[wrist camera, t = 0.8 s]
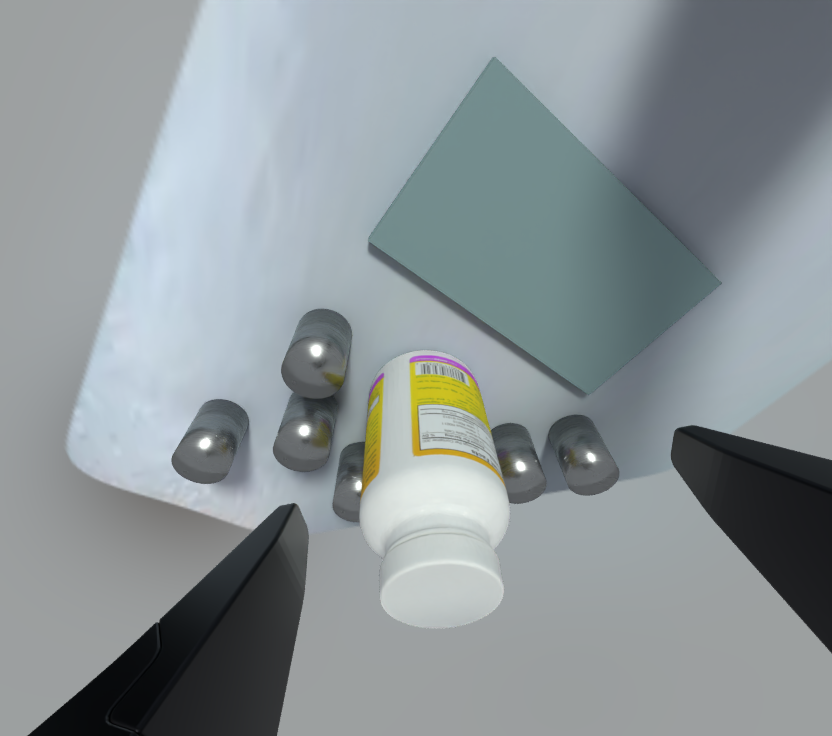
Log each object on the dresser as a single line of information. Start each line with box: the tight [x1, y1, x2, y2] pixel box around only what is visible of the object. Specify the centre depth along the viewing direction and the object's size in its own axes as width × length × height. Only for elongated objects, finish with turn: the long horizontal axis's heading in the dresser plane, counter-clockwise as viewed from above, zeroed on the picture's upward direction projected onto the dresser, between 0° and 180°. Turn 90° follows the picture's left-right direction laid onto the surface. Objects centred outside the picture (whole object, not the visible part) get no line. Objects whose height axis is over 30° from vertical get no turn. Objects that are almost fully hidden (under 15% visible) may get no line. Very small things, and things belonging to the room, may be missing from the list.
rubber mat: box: [368, 57, 722, 395], centre depth 22 cm, size 9×16×1 cm, turn 53°
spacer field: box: [172, 309, 619, 522], centre depth 27 cm, size 15×22×4 cm
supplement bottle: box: [359, 350, 510, 628], centre depth 22 cm, size 7×7×13 cm
